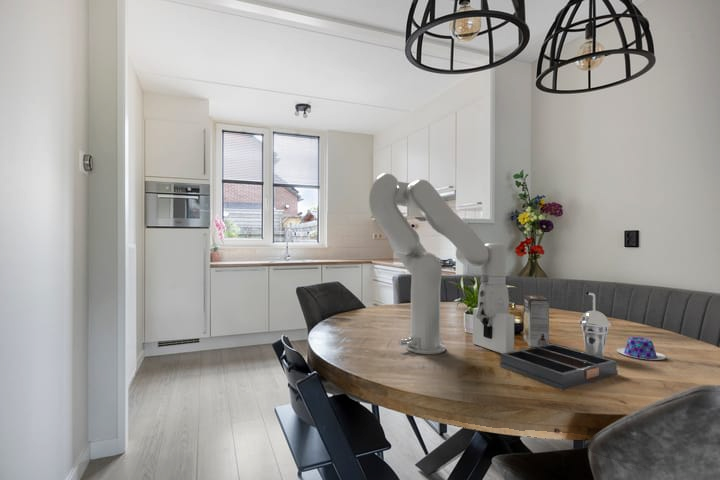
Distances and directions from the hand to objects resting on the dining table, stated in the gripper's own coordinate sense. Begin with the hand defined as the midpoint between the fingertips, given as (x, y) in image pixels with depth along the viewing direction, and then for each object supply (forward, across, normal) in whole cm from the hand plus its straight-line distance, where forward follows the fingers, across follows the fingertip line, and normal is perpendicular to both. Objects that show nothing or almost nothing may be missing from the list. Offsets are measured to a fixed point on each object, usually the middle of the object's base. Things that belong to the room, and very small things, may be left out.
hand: (492, 336), depth 118 cm
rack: (+4, 0, -22) cm, 23 cm away
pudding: (+4, +36, -25) cm, 44 cm away
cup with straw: (+4, +22, -19) cm, 30 cm away
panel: (+4, 0, 0) cm, 4 cm away
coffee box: (+4, +18, -2) cm, 19 cm away
